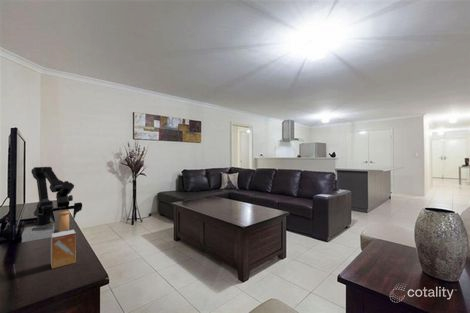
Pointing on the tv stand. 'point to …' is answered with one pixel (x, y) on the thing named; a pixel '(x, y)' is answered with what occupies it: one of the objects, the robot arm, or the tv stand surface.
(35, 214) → the robot arm
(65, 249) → the small box
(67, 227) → the plug
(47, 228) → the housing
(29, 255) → the tv stand surface
